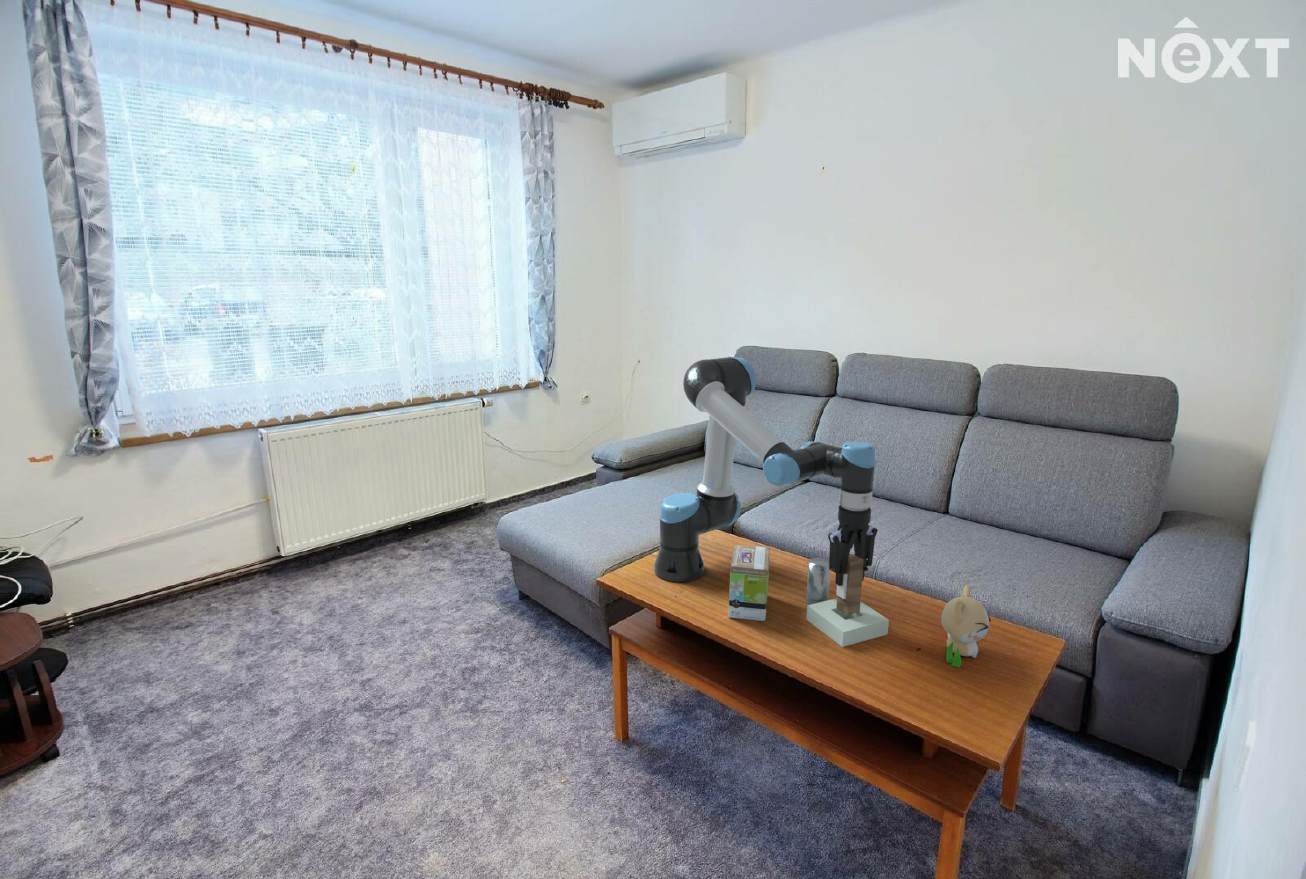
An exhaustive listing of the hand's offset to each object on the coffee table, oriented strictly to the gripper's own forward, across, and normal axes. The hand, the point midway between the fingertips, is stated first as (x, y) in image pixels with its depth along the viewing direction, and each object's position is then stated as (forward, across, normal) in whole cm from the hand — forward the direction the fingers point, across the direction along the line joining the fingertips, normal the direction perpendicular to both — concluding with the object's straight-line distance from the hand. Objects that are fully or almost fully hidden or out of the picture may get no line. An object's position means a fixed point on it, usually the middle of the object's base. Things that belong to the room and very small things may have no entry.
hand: (848, 594), depth 154 cm
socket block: (+9, 0, 0) cm, 9 cm away
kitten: (+9, +17, -20) cm, 28 cm away
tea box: (+9, -17, +19) cm, 27 cm away
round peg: (+9, +1, +13) cm, 16 cm away
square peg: (+4, 0, 0) cm, 4 cm away
